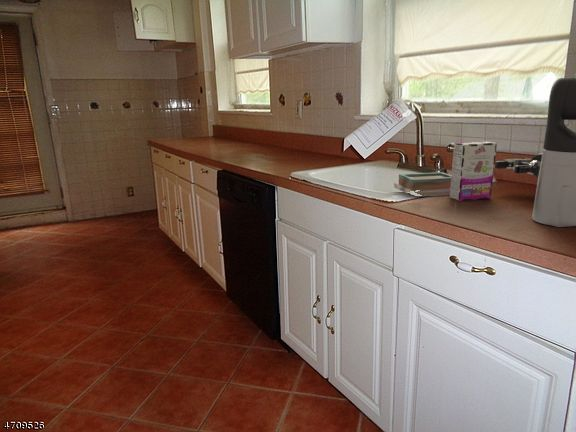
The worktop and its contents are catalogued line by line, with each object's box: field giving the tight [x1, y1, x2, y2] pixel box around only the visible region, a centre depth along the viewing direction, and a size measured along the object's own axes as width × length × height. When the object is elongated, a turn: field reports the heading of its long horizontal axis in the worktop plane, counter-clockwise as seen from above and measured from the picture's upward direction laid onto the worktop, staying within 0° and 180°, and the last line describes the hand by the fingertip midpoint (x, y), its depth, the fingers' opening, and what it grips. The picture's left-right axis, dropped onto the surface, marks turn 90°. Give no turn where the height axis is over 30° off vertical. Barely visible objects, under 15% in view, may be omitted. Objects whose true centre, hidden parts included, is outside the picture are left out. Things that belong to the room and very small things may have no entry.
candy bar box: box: [449, 141, 497, 202], centre depth 124 cm, size 11×5×16 cm, turn 105°
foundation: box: [393, 171, 451, 197], centre depth 136 cm, size 14×16×5 cm
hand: (505, 167), depth 126 cm, fingers open, 8 cm apart
